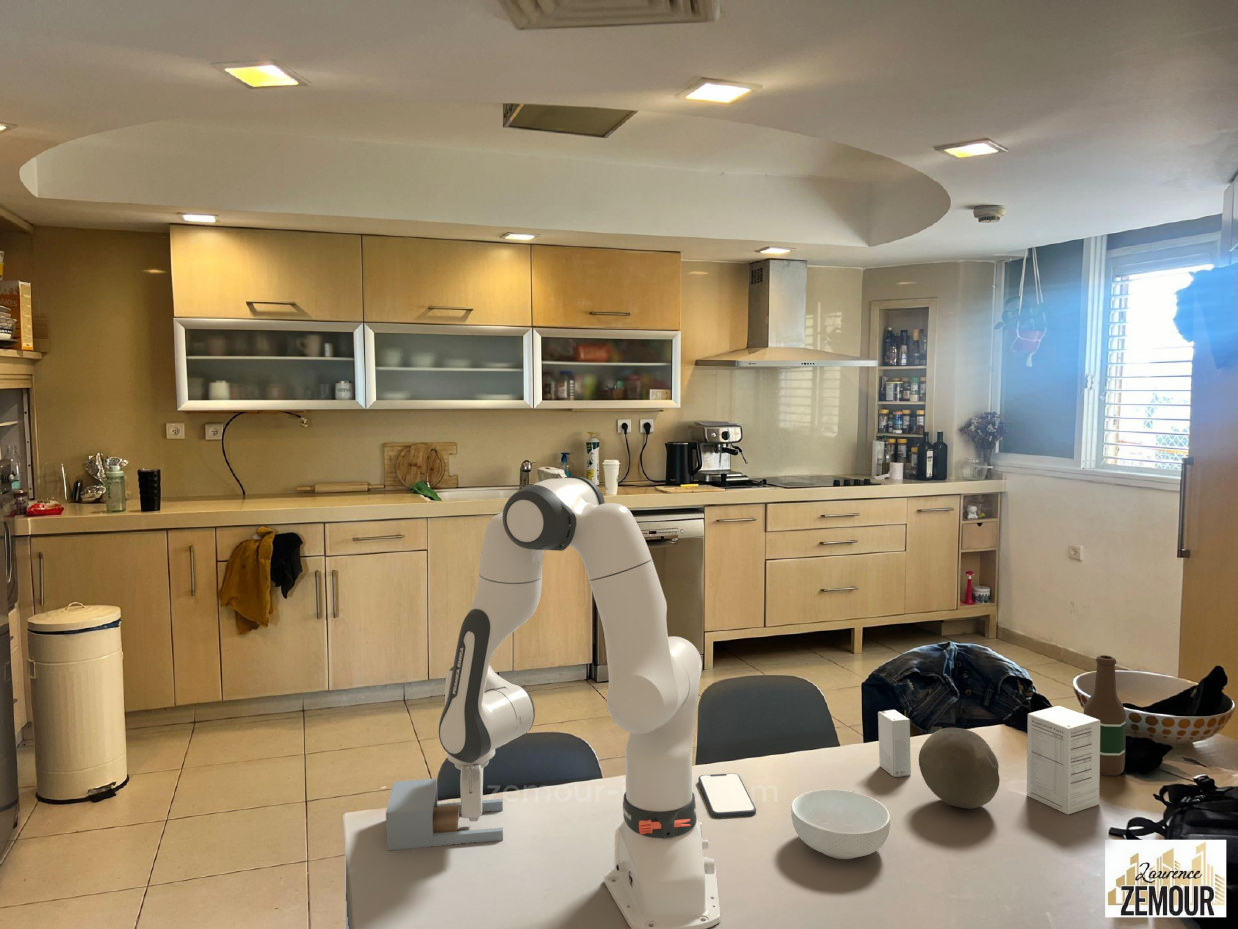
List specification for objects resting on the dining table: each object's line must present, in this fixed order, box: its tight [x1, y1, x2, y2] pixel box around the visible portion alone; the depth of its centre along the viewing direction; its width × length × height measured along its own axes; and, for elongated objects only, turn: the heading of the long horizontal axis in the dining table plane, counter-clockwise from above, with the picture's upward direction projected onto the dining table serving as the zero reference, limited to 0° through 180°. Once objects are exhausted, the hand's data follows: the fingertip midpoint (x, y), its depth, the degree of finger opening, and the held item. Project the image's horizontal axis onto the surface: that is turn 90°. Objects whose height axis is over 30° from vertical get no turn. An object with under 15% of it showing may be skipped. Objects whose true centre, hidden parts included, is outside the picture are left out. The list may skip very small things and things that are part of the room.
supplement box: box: [1026, 705, 1101, 816], centre depth 167 cm, size 10×9×17 cm
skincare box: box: [877, 709, 912, 778], centre depth 181 cm, size 6×4×12 cm
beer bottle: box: [1083, 655, 1127, 777], centre depth 180 cm, size 8×8×24 cm
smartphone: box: [697, 772, 757, 819], centre depth 172 cm, size 9×2×16 cm
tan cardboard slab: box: [433, 805, 460, 833], centre depth 161 cm, size 7×10×3 cm
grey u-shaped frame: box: [385, 777, 504, 851], centre depth 161 cm, size 12×20×7 cm, turn 98°
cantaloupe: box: [918, 727, 1000, 810], centre depth 165 cm, size 14×14×15 cm
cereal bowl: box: [790, 788, 891, 860], centre depth 152 cm, size 17×17×7 cm
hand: (474, 817), depth 162 cm, fingers closed
